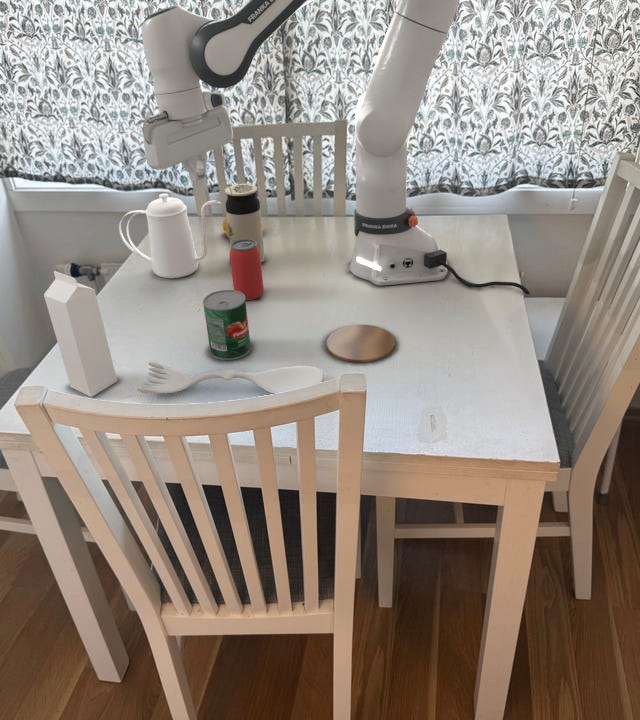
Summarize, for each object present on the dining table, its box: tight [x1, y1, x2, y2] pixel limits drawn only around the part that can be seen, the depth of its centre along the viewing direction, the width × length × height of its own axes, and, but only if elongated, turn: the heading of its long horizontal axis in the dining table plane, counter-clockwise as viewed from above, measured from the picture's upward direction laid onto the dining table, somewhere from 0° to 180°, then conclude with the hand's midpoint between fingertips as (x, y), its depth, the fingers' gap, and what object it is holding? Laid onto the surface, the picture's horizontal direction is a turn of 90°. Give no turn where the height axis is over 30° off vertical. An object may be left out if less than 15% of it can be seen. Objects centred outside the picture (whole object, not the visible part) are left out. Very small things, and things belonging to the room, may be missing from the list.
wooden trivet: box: [326, 324, 396, 364], centre depth 130 cm, size 13×13×1 cm
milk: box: [43, 270, 118, 398], centre depth 117 cm, size 6×6×22 cm
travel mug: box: [224, 183, 266, 263], centre depth 161 cm, size 8×8×18 cm
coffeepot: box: [118, 192, 222, 279], centre depth 158 cm, size 11×25×19 cm, turn 84°
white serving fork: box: [136, 361, 325, 395], centre depth 119 cm, size 9×32×4 cm, turn 86°
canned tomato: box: [202, 289, 252, 361], centre depth 128 cm, size 8×8×11 cm
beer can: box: [229, 239, 265, 301], centre depth 147 cm, size 7×7×12 cm
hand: (198, 179), depth 133 cm, fingers closed
